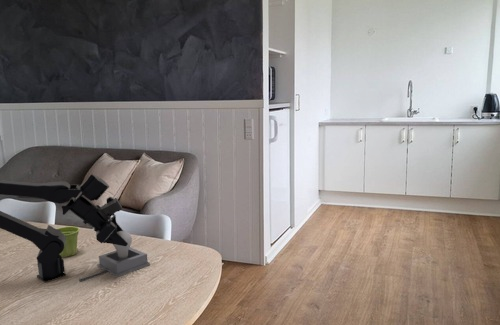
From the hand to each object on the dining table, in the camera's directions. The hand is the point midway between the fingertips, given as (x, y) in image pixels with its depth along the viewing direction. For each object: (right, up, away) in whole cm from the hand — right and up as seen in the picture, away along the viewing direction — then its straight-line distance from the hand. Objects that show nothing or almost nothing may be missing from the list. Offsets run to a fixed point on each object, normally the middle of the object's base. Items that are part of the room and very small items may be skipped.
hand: (126, 240), depth 140 cm
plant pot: (-25, -7, +13) cm, 29 cm away
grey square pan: (-4, -9, -2) cm, 10 cm away
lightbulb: (-1, -8, +1) cm, 8 cm away
